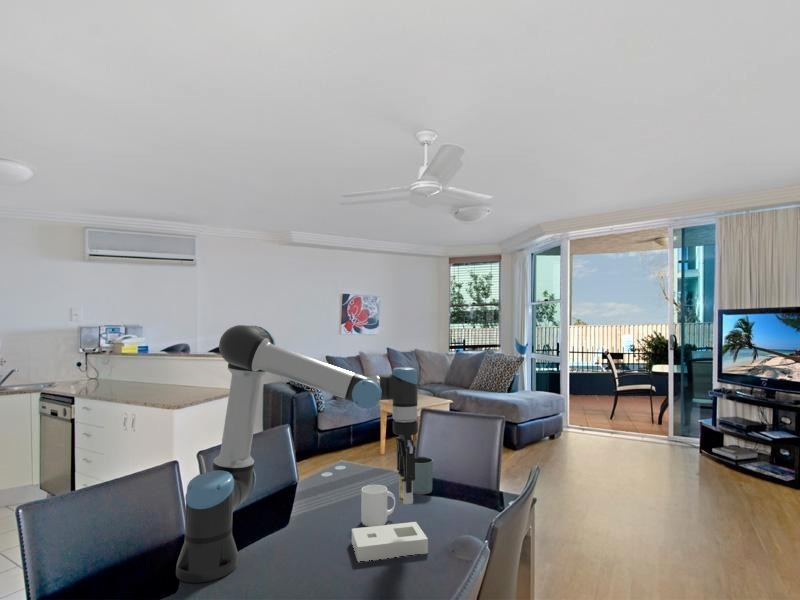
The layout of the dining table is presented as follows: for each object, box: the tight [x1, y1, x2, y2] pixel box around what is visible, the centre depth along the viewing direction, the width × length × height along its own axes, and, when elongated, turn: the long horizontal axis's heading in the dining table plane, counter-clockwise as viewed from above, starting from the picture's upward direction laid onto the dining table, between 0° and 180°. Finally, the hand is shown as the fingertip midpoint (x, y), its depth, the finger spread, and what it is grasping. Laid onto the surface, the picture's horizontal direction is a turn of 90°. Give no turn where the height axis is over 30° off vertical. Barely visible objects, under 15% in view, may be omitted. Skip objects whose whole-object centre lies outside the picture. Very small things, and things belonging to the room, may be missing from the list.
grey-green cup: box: [413, 456, 434, 495], centre depth 177 cm, size 10×10×12 cm
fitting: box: [398, 475, 404, 504], centre depth 131 cm, size 4×4×7 cm
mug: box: [360, 484, 396, 527], centre depth 148 cm, size 9×12×11 cm
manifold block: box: [351, 521, 429, 563], centre depth 129 cm, size 20×12×4 cm, turn 104°
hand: (405, 500), depth 131 cm, fingers closed on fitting, 4 cm apart
